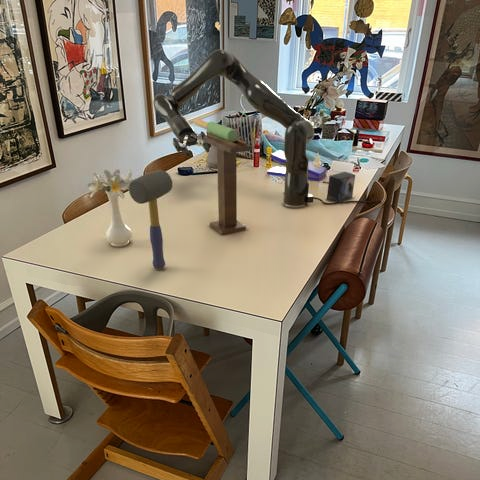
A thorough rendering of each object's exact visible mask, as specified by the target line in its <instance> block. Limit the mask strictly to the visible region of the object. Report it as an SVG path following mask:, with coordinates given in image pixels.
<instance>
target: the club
mask: <svg viewBox="0 0 480 480" xmlns="http://www.w3.org/2000/svg"><path fill="white" fill-rule="evenodd" d="M193 125H194V126H197V127H199V128H201V129H204V130H206V132H207V133H211V134H213V135H216V136H218V137H220V138H223V139H225V140H228V141H230V142H235V141H236V140H237V139H238V138H239V133H238V131H237V130H236V129H234V128H232V127H228V126H225V125H223V124H220V123H217V122H214V121H209V122H208V121H205V120H203V119H200V118H195V119H194V120H193Z"/></svg>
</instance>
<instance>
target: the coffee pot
mask: <svg viewBox="0 0 480 480" xmlns="http://www.w3.org/2000/svg"><path fill="white" fill-rule="evenodd" d="M240 140H241V141H243V142H246V140H245V139H244V138H241V139H240ZM205 162H206V164H207V165H208V166H209V167H210V168H213V169H217V147H216V146H213V145H211V144H210V150H209V152H208V153H207V156H206V159H205Z"/></svg>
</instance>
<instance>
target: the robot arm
mask: <svg viewBox="0 0 480 480" xmlns="http://www.w3.org/2000/svg"><path fill="white" fill-rule="evenodd" d="M217 76H219V77H222V78H225V79H226V80H228V81H229V82H231V83H232V84H234V85H235V86H236V87H237V88H238V89H239V91H240V92H241V94H242V95H243V97H244V99H245V100H246V101H247V103H248V104H249V105H250V106H252V108H254V109H255V110H256V111H257V112H258V113H259V114H261V115H262V116H264V117H266V118H268V119H270V120H272V121H275V122H276V123H278V124H280V125H281V126H282V127H283V128H285V132H284V143H283V144H284V145H283V151H284V154H285V158H286V166H285V168H286V169H285V176H284V189H283V190H284V191H283V202H282V203H283V206H284V207H286V208H289V209H301V208H304V207H307V206H308V204H310V203H311V204H312V203H314V200H317V201H319V202H321V203H322V204H324V205H327V206H331V205H342V204H351V203H353V204H354V203H359V204H360V203H361V204H373V203H380V204H381V202H383V201H382V200H380V199H374V200H344V201H341V202H325V201H323V199H322V198H320V197H315V195H313V194H311V193H309V191H310V183H309V182H308V166H309V162H310V156H308V155H307V144H308V143H310V142H312V141H313V139H314V138H315V129H314V125H313V124H312V123H311V122H310V121H309V120H308V119H306V118H305V117H304V116H302V115H301V114H300V113H298V112H296V111H295V110H294V109H293V108H291V106H289V105H288V104H287V103H286V102H285V101H284V100H283V99H282V98H280V96H278V95H277V94H276V92H274V91H273V90H272V89H271V88H270V87H269V86H268V85H267V84H265V83H264V82H263V81H262V80H261V79H259V78H258V77H257V76H255V75H254V74H253V73H252V72H250V71H249V70H248V69H247V68H246V67H245V66H244V65H243V64H242V63H241V61H240V60H239V59H238V58H237V57H236V56H235V55H234V53H232V52H230V51H228V50H225V49H221V48H220V49H215V50H214V51H213V52H211V53H210V54H209V55H208V56H207V58H206V59H205V60H204V61H203V62H202V63H201V64H200V65H199V66H198V67H197V68H196V69H195V70H194V71H193V72H192V73H190V75H189V76H187V77H186V78H185V79H183V80H182V81H180V83H178V84H177V85H175V86H174V87H173V88H172V89H171V92H170V94H171V97H172V98H170V97H169V96H167V95H166V94H164V93H158V94H156V95H155V97H154V98H153V101H152V102H153V103H152V104H153V107H154V110H155V111H156V112H157V113H158V115H160V117H162V118H163V120H165V121H166V123H167V124H168V126H169V128H170V130H171V132H172V133H173V134H174V136H175V137H172V145H173V147H174V149H175V150H176V152H177V153H181V152H182V153H183V154H184V155H185V157H187V158H190V157H191V152H190V150H189V148H187V147H191V146H192V147H193V146H197V147H202V148H203V149H204V151H205V152H206V153H207V154H208V153H209V151H210V148H211V146H210V144H209V143H207V142H204V141H203V137H206V136H207V134H206V133H205V132H204V131H200V133H197V132H196V131H195V130H194V128H193V127H192V125H191V124H190V122H189V121H188V120H187V118H186V117H184V115H183V114H182V113H181V111H180V109H181V108H182V106H183V105H184V104H185V103H187V101H188V100H190V99H191V98H193V97H194V96H195V95H196V94H197V93H198V92H199V91H200V90H201V88H203V86H204V85H205V84H206V83H207V82H208V81H210V80H212V79H213V78H215V77H217ZM180 144H181V145H180Z"/></svg>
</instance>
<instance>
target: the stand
mask: <svg viewBox="0 0 480 480" xmlns="http://www.w3.org/2000/svg"><path fill="white" fill-rule="evenodd" d="M203 141H204V142H207V143H209V145H210V146H211V145H213V146H216V147H217V168H216V170H217V202H218V205H217V206H218V207H217V208H218V211H217V212H218V220H215V221H210V222H209V227H210V228H212V229H213V230H214V231H216V232H217V233H219V234H220V235H222V236H224V235H230V234H234V233H238V232H242V231H243V232H244V231H246V230H247V226H246V224H244V223H242V222H240V221H238V219H237V217H238V216H237V215H238V213H237V210H238V209H237V208H238V207H237V205H238V204H237V203H238V202H237V196H238V195H237V191H238V190H237V184H238V183H237V181H238V180H237V177H238V176H237V153H242V152H248V151H252V145H251V144H248V142H246V141H245V142H244V140H243V141H241V139H238V138H237V140H236V141H235V142H230V141H228V140H225V139H223V138H220V137H218V136H216V135H213V134H211V133H208V132H207V134H206V137H203Z"/></svg>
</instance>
